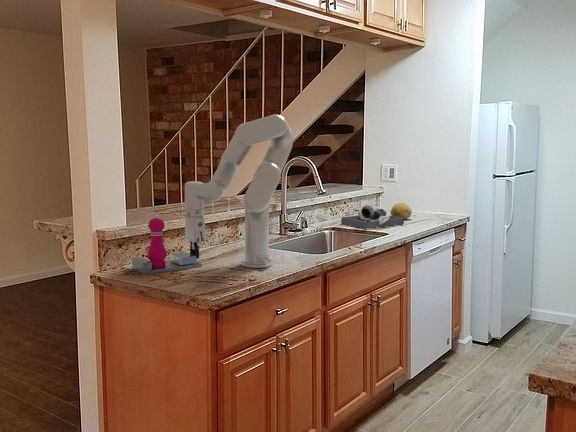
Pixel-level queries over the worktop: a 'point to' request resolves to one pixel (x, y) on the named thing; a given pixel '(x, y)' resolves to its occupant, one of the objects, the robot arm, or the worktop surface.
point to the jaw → (183, 258)
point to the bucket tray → (371, 222)
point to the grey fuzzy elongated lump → (373, 214)
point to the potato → (401, 210)
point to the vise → (145, 268)
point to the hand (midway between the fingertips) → (194, 258)
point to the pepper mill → (156, 243)
